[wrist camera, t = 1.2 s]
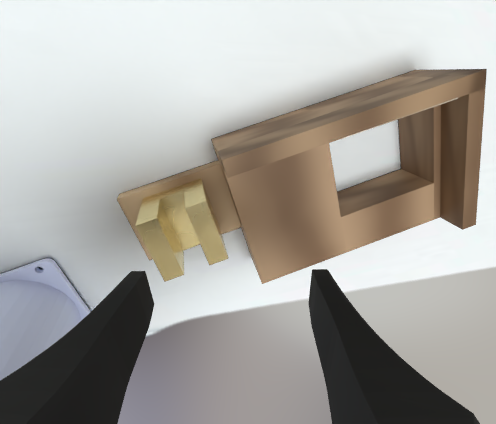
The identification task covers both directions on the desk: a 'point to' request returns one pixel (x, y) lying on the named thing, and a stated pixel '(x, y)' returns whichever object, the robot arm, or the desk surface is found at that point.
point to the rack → (322, 176)
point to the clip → (179, 227)
